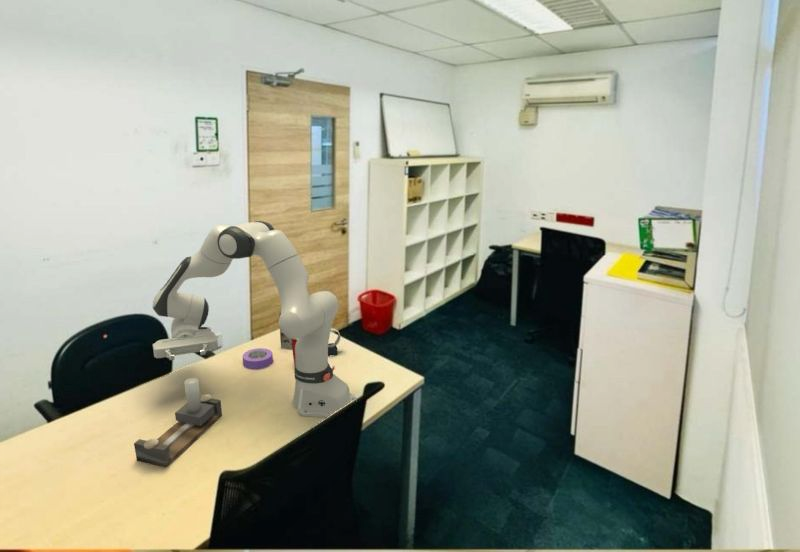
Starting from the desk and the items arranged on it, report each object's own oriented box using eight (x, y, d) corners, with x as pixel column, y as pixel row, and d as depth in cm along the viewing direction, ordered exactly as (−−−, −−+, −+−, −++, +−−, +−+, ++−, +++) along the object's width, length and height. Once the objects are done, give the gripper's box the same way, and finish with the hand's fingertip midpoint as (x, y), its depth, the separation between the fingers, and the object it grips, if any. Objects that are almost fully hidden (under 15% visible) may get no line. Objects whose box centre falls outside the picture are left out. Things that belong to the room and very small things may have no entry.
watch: (320, 350, 201) (320, 327, 198) (339, 348, 204) (339, 325, 200) (322, 356, 196) (322, 333, 193) (341, 354, 198) (341, 331, 195)
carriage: (190, 408, 153) (186, 373, 149) (214, 413, 151) (210, 378, 147) (176, 420, 147) (171, 384, 143) (200, 425, 145) (196, 389, 141)
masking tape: (246, 356, 195) (245, 348, 194) (274, 355, 196) (274, 347, 195) (240, 370, 184) (239, 361, 182) (270, 369, 185) (269, 361, 184)
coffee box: (294, 349, 202) (293, 315, 197) (280, 348, 202) (278, 314, 197) (301, 340, 210) (299, 307, 205) (287, 339, 211) (285, 306, 206)
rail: (197, 409, 158) (195, 392, 156) (223, 414, 155) (221, 397, 153) (134, 462, 132) (131, 443, 130) (164, 469, 130) (161, 450, 128)
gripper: (151, 334, 160) (151, 352, 149) (214, 326, 169) (218, 342, 158) (153, 351, 162) (153, 369, 151) (215, 341, 171) (220, 358, 160)
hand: (187, 355), depth 154 cm, fingers open, 8 cm apart
